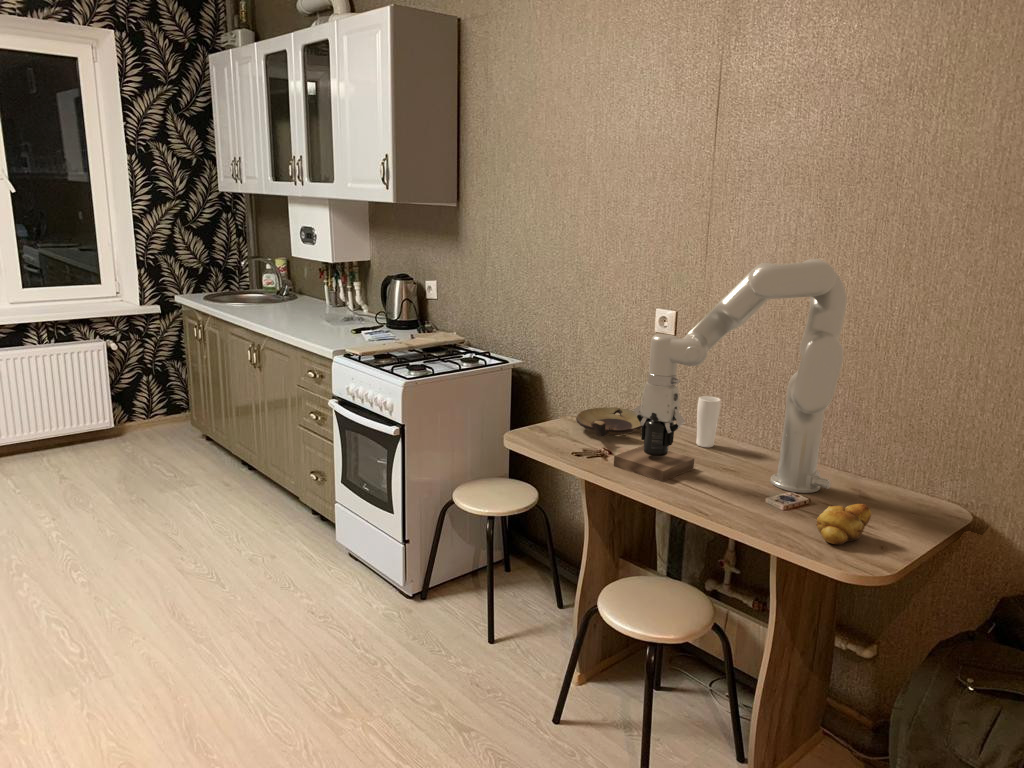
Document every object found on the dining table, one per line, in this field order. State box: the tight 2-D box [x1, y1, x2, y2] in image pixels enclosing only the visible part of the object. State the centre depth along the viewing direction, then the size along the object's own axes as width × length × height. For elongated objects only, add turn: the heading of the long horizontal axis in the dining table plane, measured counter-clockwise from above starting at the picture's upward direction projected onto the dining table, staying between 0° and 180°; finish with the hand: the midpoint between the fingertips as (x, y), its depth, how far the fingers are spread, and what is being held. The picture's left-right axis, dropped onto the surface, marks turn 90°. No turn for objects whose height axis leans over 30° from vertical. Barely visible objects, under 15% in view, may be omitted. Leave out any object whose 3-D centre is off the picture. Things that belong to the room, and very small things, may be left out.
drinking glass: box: [696, 395, 722, 448], centre depth 231 cm, size 7×7×15 cm
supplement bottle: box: [643, 413, 670, 456], centre depth 209 cm, size 7×7×12 cm
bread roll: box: [816, 503, 872, 545], centre depth 169 cm, size 13×10×8 cm
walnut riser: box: [613, 445, 695, 482], centre depth 211 cm, size 16×16×3 cm
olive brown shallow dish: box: [575, 406, 642, 438], centre depth 241 cm, size 22×30×8 cm
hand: (656, 441), depth 209 cm, fingers closed on supplement bottle, 6 cm apart
